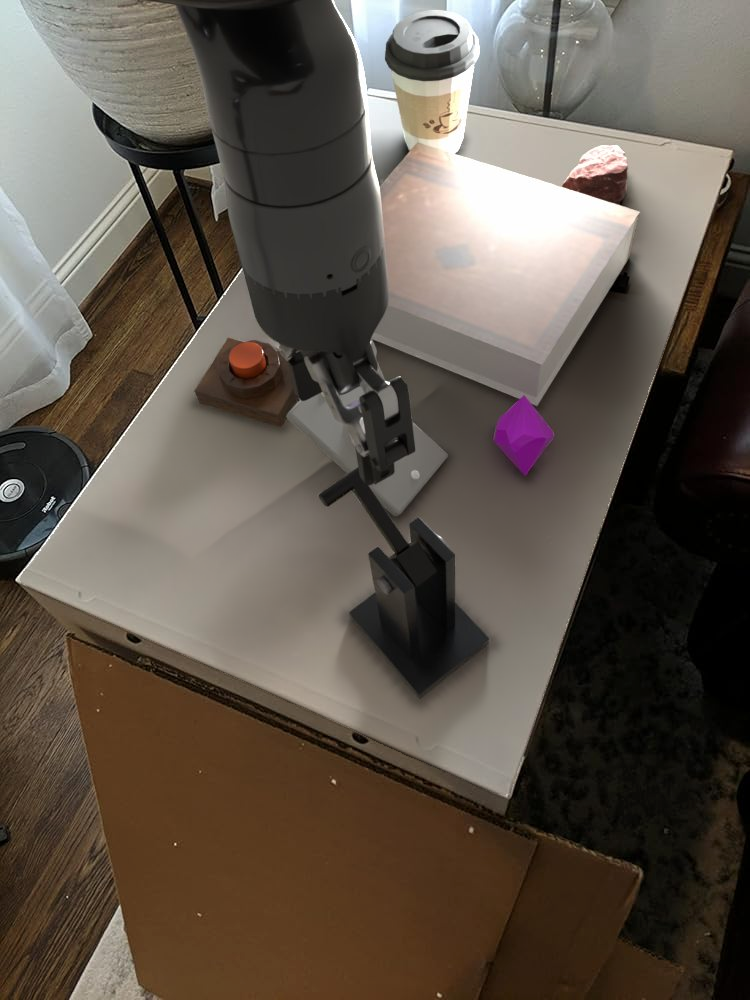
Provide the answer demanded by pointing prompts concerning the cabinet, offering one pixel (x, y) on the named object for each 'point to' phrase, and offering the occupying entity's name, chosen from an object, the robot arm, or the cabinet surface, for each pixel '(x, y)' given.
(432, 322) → the book
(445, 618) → the bracket
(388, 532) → the lever
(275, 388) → the control block
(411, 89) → the coffee cup
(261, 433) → the cabinet surface
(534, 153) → the cabinet surface
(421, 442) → the light switch
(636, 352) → the cabinet surface
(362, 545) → the cabinet surface
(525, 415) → the crystal
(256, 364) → the button
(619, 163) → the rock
